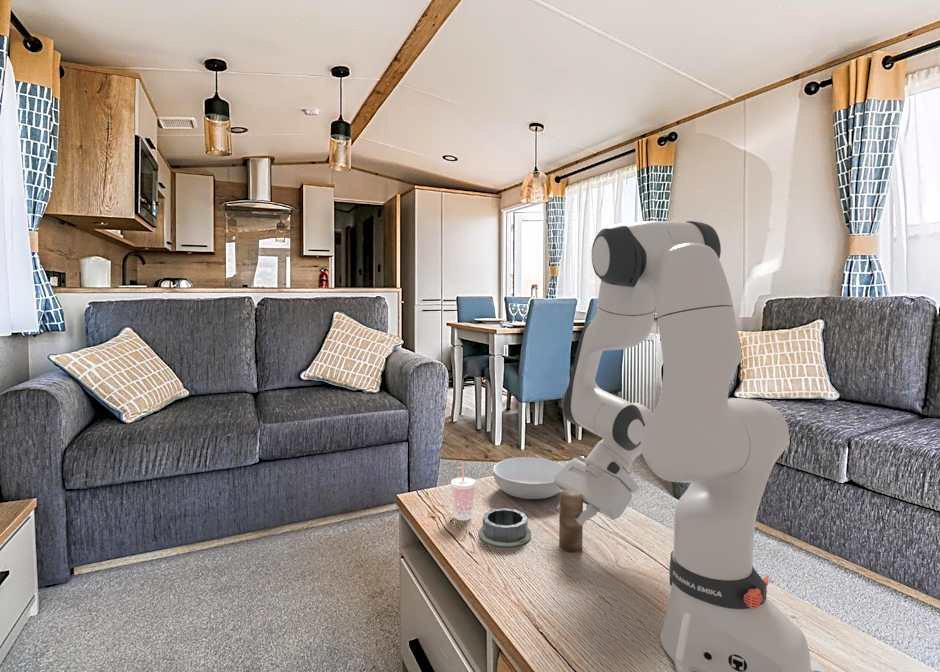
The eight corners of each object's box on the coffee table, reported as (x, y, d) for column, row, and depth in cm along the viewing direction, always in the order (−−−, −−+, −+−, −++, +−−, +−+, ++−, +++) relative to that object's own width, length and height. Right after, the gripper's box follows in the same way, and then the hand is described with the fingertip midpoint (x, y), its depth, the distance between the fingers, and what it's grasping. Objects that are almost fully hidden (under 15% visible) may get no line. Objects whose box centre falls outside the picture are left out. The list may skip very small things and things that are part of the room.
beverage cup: (480, 518, 128) (480, 463, 127) (459, 523, 125) (458, 467, 123) (467, 509, 133) (467, 456, 132) (446, 514, 130) (446, 460, 129)
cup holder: (541, 534, 119) (541, 517, 118) (507, 553, 110) (507, 534, 110) (503, 518, 127) (503, 502, 127) (468, 534, 119) (468, 517, 119)
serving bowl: (483, 502, 137) (483, 477, 137) (503, 476, 157) (503, 454, 157) (562, 512, 131) (562, 486, 130) (572, 484, 151) (572, 461, 150)
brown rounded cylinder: (586, 546, 113) (587, 493, 112) (573, 554, 109) (574, 500, 108) (567, 539, 116) (568, 487, 116) (554, 546, 113) (555, 493, 112)
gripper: (569, 446, 124) (534, 492, 120) (628, 472, 105) (589, 527, 102) (584, 461, 126) (550, 507, 123) (645, 490, 107) (606, 544, 104)
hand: (568, 517), depth 112 cm, fingers closed on brown rounded cylinder, 5 cm apart
